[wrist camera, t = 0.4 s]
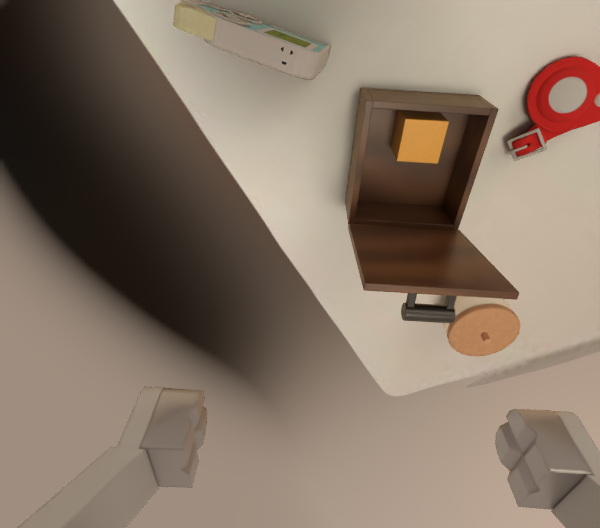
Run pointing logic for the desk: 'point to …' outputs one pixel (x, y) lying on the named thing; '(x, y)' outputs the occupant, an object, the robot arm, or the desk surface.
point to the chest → (414, 175)
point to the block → (418, 136)
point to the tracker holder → (559, 103)
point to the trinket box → (482, 326)
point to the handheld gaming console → (252, 39)
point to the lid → (425, 268)
